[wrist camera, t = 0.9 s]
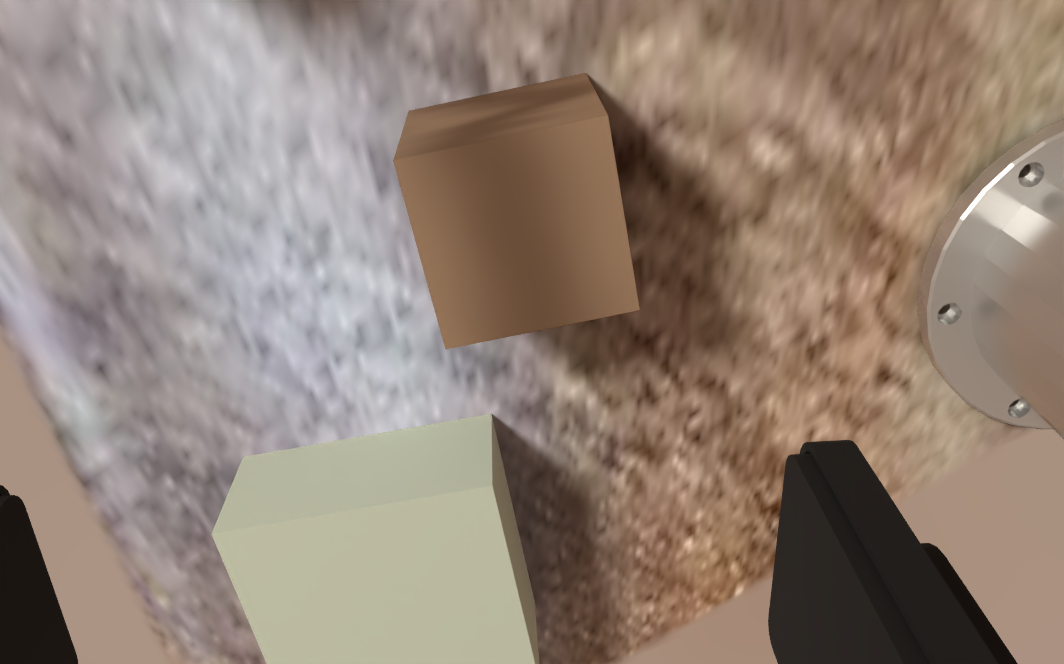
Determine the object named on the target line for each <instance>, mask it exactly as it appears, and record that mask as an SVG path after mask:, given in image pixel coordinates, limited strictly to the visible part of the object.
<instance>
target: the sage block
mask: <svg viewBox="0 0 1064 664" xmlns="http://www.w3.org/2000/svg"><path fill="white" fill-rule="evenodd" d="M212 536H213V539H214V541H215V543H216V546H217V548H218V550H219V553H220V555H221V557H222V560H223V562H224V565H225V567H226V569H227V572H228V574H229V576H230V579H231V581H232V583H233V586H234V588H235V590H236V593H237V595H238V597H239V600H240V602H241V605H242V607H243V609H244V612H245V614H246V616H247V619H248V621H249V623H250V626H251V628H252V630H253V633H254V635H255V637H256V640H257V642H258V645H259V647H260V649H261V652H262V654H263V656H264V659H265V661H266V663H267V664H539V652H538V638H537V624H536V609H535V601H534V596H533V592H532V588H531V583H530V579H529V575H528V570H527V566H526V562H525V557H524V553H523V549H522V544H521V540H520V536H519V531H518V527H517V523H516V518H515V514H514V509H513V505H512V501H511V496H510V492H509V488H508V483H507V479H506V475H505V470H504V466H503V462H502V457H501V453H500V449H499V444H498V440H497V436H496V431H495V427H494V423H493V418H492V414H486V415H480V416H475V417H469V418H463V419H458V420H452V421H446V422H441V423H435V424H429V425H424V426H418V427H412V428H406V429H401V430H395V431H389V432H384V433H378V434H372V435H367V436H361V437H355V438H350V439H344V440H338V441H332V442H327V443H321V444H315V445H310V446H304V447H298V448H293V449H287V450H281V451H276V452H270V453H264V454H259V455H253V456H247V457H243V459H242V462H241V464H240V466H239V469H238V471H237V474H236V476H235V479H234V481H233V483H232V486H231V488H230V491H229V493H228V496H227V498H226V500H225V503H224V505H223V508H222V510H221V513H220V515H219V517H218V520H217V522H216V525H215V527H214V530H213V532H212Z"/></svg>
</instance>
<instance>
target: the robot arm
mask: <svg viewBox="0 0 1064 664" xmlns="http://www.w3.org/2000/svg"><path fill="white" fill-rule="evenodd" d="M1022 168H1023V169H1022ZM918 320H919V326H920V332H921V337H922V342H923V344H924V347H925V349H926V351H927V353H928V356H929V358H930V360H931V362H932V365H933V366H934V367H935V369H936V370H937V371H938V372H939V374H940V375H941V376H942V378H943V379H944V380H945V381H946V383H947V384H948V385H949V386H950V387H951V388H952V389H953V390H954V391H955V392H956V393H957V394H958V395H959V396H960V397H961V398H962V399H963V400H964V401H965V402H966V403H967V404H969V405H970V406H972V407H974V408H975V409H977V410H979V411H980V412H982V413H983V414H985V415H987V416H988V417H991V418H994V419H996V420H999V421H1002V422H1004V423H1007V424H1010V425H1015V426H1022V427H1029V428H1036V429H1054V430H1055V431H1056V432H1057V433H1058V434H1059V435H1060V436H1061V437H1062V438H1063V439H1064V120H1061V121H1059V122H1056V123H1054V124H1051V125H1049V126H1047V127H1045V128H1043V129H1041V130H1040V131H1038V132H1036V133H1035V134H1033V135H1031V136H1029V137H1028V138H1026V139H1024V140H1022V141H1021V142H1019V143H1017V144H1016V145H1014V146H1013V147H1012V148H1010V149H1009V150H1008V151H1007V152H1005V153H1004V154H1003V155H1002V156H1000V157H999V158H998V159H997V160H995V161H994V162H993V163H992V164H990V165H989V166H988V167H987V168H985V169H984V170H983V172H982V173H981V174H980V175H979V176H978V177H977V178H976V179H975V180H974V181H973V182H972V183H971V185H970V186H969V187H968V188H967V189H966V190H965V191H964V192H963V193H962V194H961V195H960V197H959V198H958V200H957V201H956V203H955V204H954V206H953V207H952V209H951V210H950V212H949V213H948V215H947V216H946V218H945V219H944V221H943V222H942V224H941V225H940V227H939V229H938V231H937V234H936V236H935V238H934V240H933V242H932V245H931V247H930V249H929V251H928V253H927V256H926V259H925V263H924V267H923V271H922V275H921V279H920V283H919V293H918ZM768 625H769V635H770V640H771V644H772V648H773V651H774V654H775V656H776V659H777V662H778V664H1017V662H1016V661H1015V659H1014V658H1013V656H1012V655H1011V653H1010V652H1009V650H1008V649H1007V647H1006V646H1005V644H1004V643H1003V641H1002V640H1001V638H1000V637H999V635H998V634H997V632H996V631H995V630H994V628H993V627H992V625H991V624H990V622H989V621H988V619H987V618H986V616H985V615H984V613H983V612H982V610H981V609H980V607H979V606H978V604H977V603H976V601H975V600H974V598H973V597H972V595H971V594H970V593H969V591H968V589H967V588H966V586H965V585H964V584H963V582H962V580H961V579H960V578H959V576H958V575H957V573H956V572H955V570H954V569H953V567H952V566H951V564H950V563H949V561H948V560H947V558H946V557H945V556H944V554H943V553H942V552H941V551H940V550H939V549H938V547H936V546H934V545H932V544H930V543H921V544H920V542H919V541H918V539H917V538H916V536H915V534H914V533H913V532H912V530H911V529H910V527H909V525H908V524H907V522H906V521H905V519H904V518H903V516H902V514H901V513H900V511H899V510H898V508H897V507H896V505H895V504H894V502H893V501H892V499H891V497H890V496H889V494H888V493H887V491H886V490H885V488H884V487H883V485H882V484H881V482H880V481H879V479H878V477H877V476H876V474H875V473H874V471H873V470H872V468H871V467H870V465H869V464H868V462H867V461H866V459H865V457H864V456H863V454H862V453H861V451H860V450H859V448H858V447H857V445H856V444H855V443H854V442H853V441H850V440H839V441H820V442H806V443H804V444H803V446H802V448H801V450H800V454H796V455H789V456H788V458H787V460H786V465H785V474H784V483H783V492H782V501H781V510H780V519H779V528H778V536H777V545H776V554H775V563H774V572H773V581H772V590H771V600H770V608H769V620H768ZM0 664H78V659H77V655H76V652H75V649H74V646H73V643H72V640H71V637H70V634H69V631H68V629H67V626H66V623H65V620H64V617H63V614H62V611H61V609H60V606H59V603H58V600H57V597H56V594H55V591H54V588H53V585H52V583H51V580H50V577H49V574H48V571H47V568H46V565H45V562H44V559H43V557H42V554H41V551H40V548H39V545H38V542H37V540H36V537H35V534H34V531H33V528H32V525H31V522H30V519H29V516H28V513H27V511H26V508H25V505H24V503H23V501H22V500H21V499H20V498H19V497H18V496H15V495H10V494H9V492H8V490H7V489H6V488H4V486H1V485H0Z"/></svg>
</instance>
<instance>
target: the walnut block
mask: <svg viewBox="0 0 1064 664" xmlns="http://www.w3.org/2000/svg"><path fill="white" fill-rule="evenodd" d="M393 161H394V165H395V168H396V172H397V176H398V179H399V183H400V187H401V190H402V194H403V197H404V201H405V205H406V208H407V212H408V215H409V219H410V223H411V226H412V230H413V233H414V237H415V241H416V244H417V248H418V252H419V255H420V259H421V262H422V266H423V270H424V273H425V277H426V280H427V284H428V288H429V291H430V295H431V298H432V302H433V306H434V309H435V313H436V316H437V320H438V324H439V327H440V331H441V335H442V338H443V342H444V345H445V349H450V348H455V347H460V346H465V345H470V344H475V343H480V342H484V341H489V340H494V339H499V338H504V337H509V336H514V335H519V334H524V333H529V332H534V331H539V330H544V329H549V328H554V327H559V326H564V325H569V324H574V323H579V322H584V321H589V320H594V319H599V318H603V317H608V316H613V315H618V314H623V313H628V312H633V311H638V310H640V308H639V302H638V296H637V290H636V284H635V278H634V271H633V265H632V259H631V253H630V247H629V241H628V235H627V229H626V222H625V216H624V210H623V204H622V198H621V192H620V186H619V179H618V173H617V167H616V161H615V155H614V149H613V143H612V137H611V130H610V124H609V118H608V114H607V112H606V110H605V108H604V107H603V105H602V103H601V101H600V99H599V97H598V95H597V93H596V91H595V89H594V87H593V86H592V84H591V82H590V80H589V78H588V76H587V74H586V73H583V74H579V75H574V76H569V77H565V78H560V79H555V80H551V81H546V82H541V83H537V84H532V85H527V86H523V87H518V88H513V89H509V90H504V91H499V92H495V93H490V94H485V95H481V96H476V97H471V98H467V99H462V100H457V101H453V102H448V103H443V104H439V105H434V106H429V107H425V108H420V109H415V110H411V111H409V112H408V115H407V118H406V122H405V125H404V128H403V131H402V135H401V138H400V141H399V144H398V147H397V151H396V154H395V157H394V160H393Z"/></svg>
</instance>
